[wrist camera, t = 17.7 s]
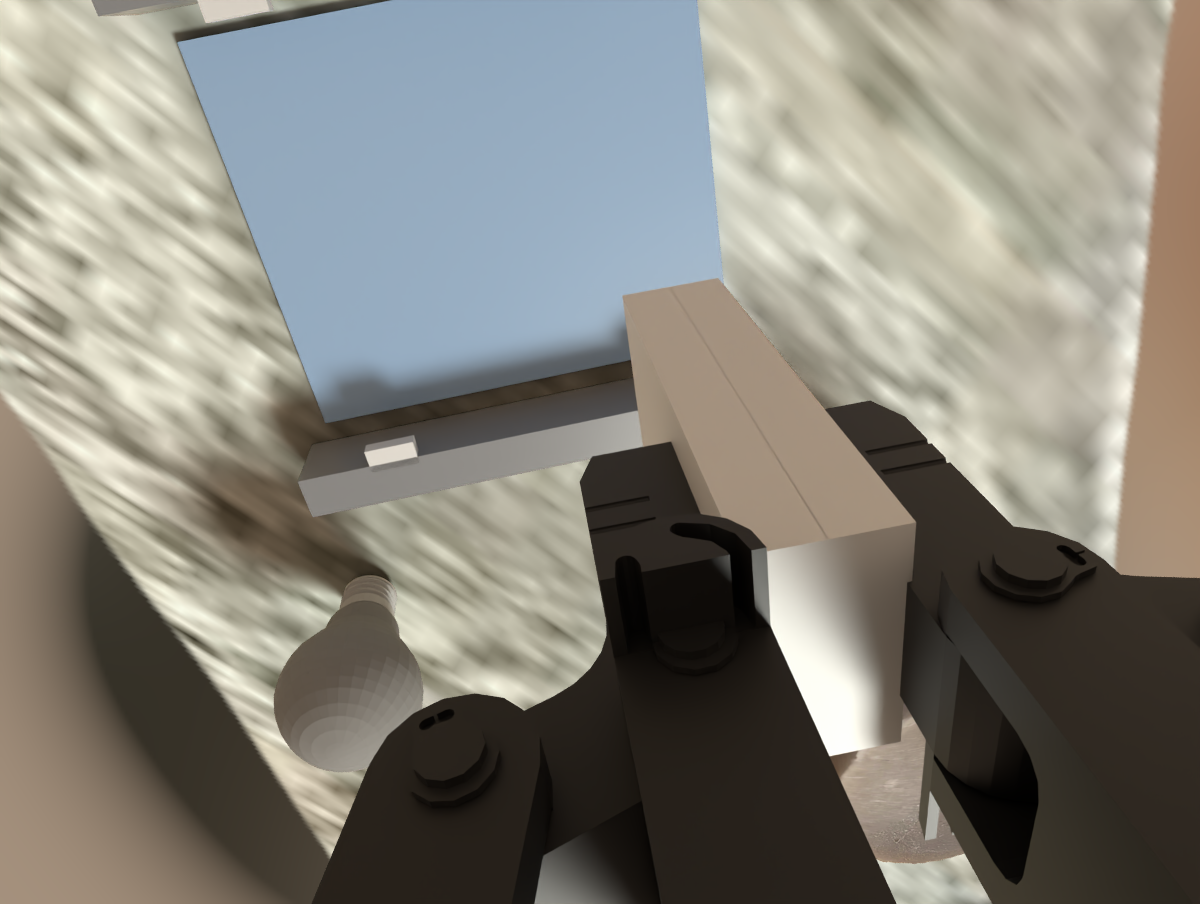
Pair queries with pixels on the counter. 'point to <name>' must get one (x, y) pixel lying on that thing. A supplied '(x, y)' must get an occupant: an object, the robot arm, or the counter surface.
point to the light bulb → (349, 682)
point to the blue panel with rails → (462, 213)
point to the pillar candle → (894, 798)
